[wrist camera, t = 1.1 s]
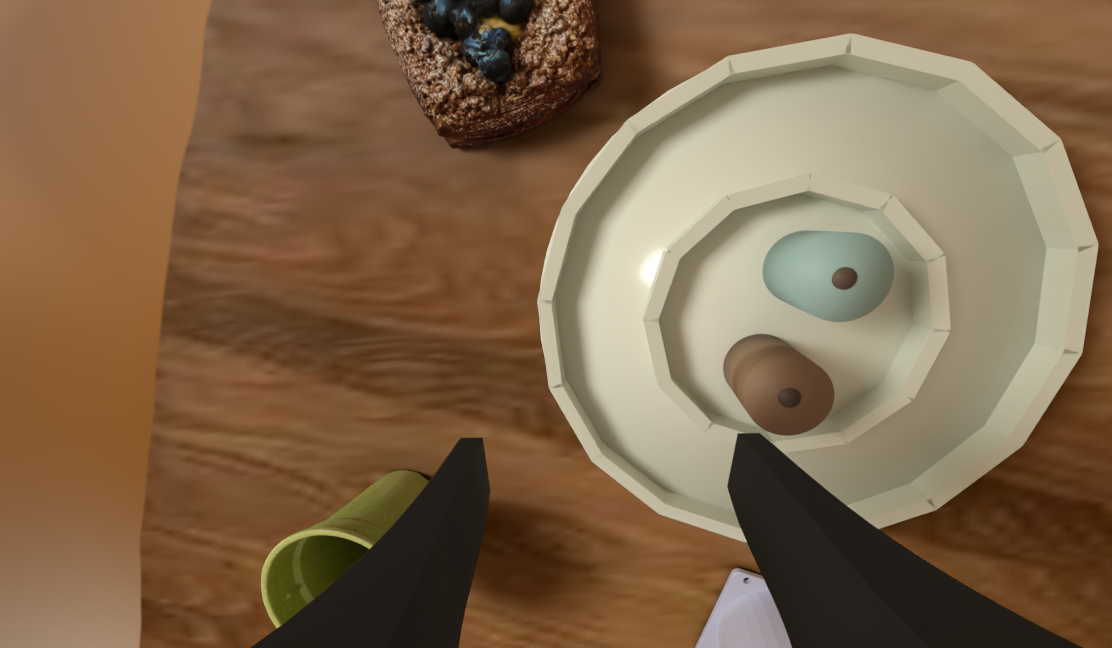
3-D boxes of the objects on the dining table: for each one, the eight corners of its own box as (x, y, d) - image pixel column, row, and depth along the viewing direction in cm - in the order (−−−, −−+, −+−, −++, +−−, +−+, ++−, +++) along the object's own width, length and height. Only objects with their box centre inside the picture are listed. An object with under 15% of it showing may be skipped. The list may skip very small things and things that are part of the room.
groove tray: (1171, 128, 20) (1246, 116, 18) (899, 574, 27) (926, 608, 25) (616, -6, 22) (616, -34, 20) (498, 443, 29) (487, 463, 27)
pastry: (451, 172, 26) (405, 157, 20) (368, -38, 24) (290, -119, 18) (624, 95, 24) (627, 55, 18) (548, -144, 21) (524, -275, 16)
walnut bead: (807, 345, 24) (850, 373, 20) (779, 407, 25) (813, 446, 21) (737, 325, 24) (765, 348, 20) (713, 387, 25) (733, 421, 21)
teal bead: (854, 242, 22) (912, 246, 18) (822, 312, 23) (869, 333, 19) (779, 221, 23) (818, 221, 18) (751, 292, 24) (781, 308, 19)
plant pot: (335, 458, 32) (234, 542, 23) (450, 438, 30) (385, 522, 22) (376, 563, 33) (296, 676, 25) (486, 550, 32) (440, 667, 23)
